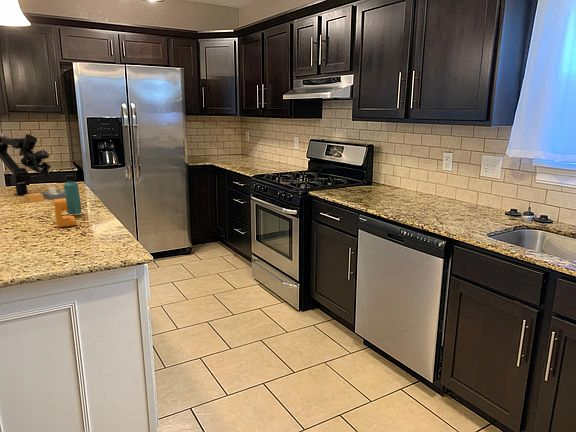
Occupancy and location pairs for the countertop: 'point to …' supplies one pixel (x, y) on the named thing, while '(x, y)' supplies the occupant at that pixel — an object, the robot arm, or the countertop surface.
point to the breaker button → (51, 190)
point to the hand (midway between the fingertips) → (44, 174)
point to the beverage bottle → (72, 196)
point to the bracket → (61, 221)
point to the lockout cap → (34, 197)
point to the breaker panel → (54, 194)
